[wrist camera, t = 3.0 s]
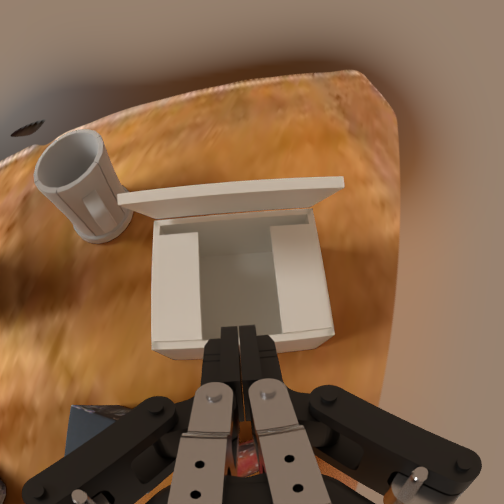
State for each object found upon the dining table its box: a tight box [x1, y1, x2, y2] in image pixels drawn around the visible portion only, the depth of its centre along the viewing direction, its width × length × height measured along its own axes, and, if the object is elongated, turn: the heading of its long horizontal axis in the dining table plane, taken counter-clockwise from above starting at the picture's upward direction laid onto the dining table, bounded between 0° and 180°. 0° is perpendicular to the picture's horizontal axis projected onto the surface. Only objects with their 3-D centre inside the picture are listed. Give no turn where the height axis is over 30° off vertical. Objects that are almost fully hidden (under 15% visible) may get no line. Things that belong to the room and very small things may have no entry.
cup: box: [34, 129, 134, 244], centre depth 34 cm, size 10×9×12 cm
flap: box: [117, 176, 344, 219], centre depth 24 cm, size 1×14×10 cm, turn 95°
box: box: [64, 405, 174, 493], centre depth 24 cm, size 8×6×11 cm
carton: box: [151, 208, 335, 360], centre depth 31 cm, size 12×15×9 cm
